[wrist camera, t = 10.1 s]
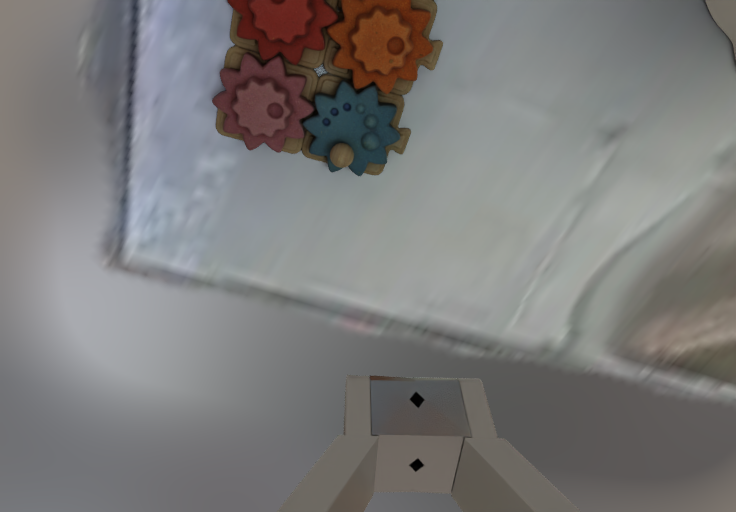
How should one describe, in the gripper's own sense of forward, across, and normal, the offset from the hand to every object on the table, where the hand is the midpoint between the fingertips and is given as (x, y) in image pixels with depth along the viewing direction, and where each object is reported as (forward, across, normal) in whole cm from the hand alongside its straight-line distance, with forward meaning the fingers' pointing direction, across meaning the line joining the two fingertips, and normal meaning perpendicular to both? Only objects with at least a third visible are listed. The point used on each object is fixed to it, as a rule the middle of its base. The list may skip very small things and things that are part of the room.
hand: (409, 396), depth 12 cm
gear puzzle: (+35, +2, -7) cm, 36 cm away
